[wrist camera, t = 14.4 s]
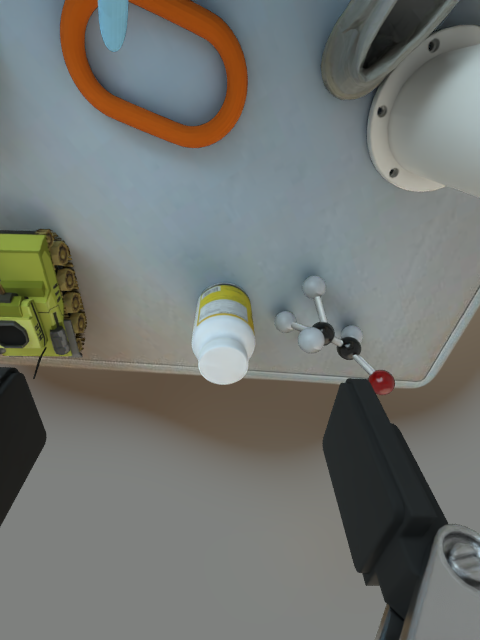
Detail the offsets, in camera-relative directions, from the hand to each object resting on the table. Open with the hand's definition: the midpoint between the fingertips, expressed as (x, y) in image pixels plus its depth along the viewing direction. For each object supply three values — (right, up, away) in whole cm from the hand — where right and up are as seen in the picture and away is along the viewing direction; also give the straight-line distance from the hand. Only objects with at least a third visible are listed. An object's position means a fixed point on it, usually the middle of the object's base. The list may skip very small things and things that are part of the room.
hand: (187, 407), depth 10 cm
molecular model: (+13, +3, +32) cm, 35 cm away
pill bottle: (0, +5, +31) cm, 31 cm away
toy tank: (-21, +7, +28) cm, 36 cm away
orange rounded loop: (-5, +24, +18) cm, 30 cm away
